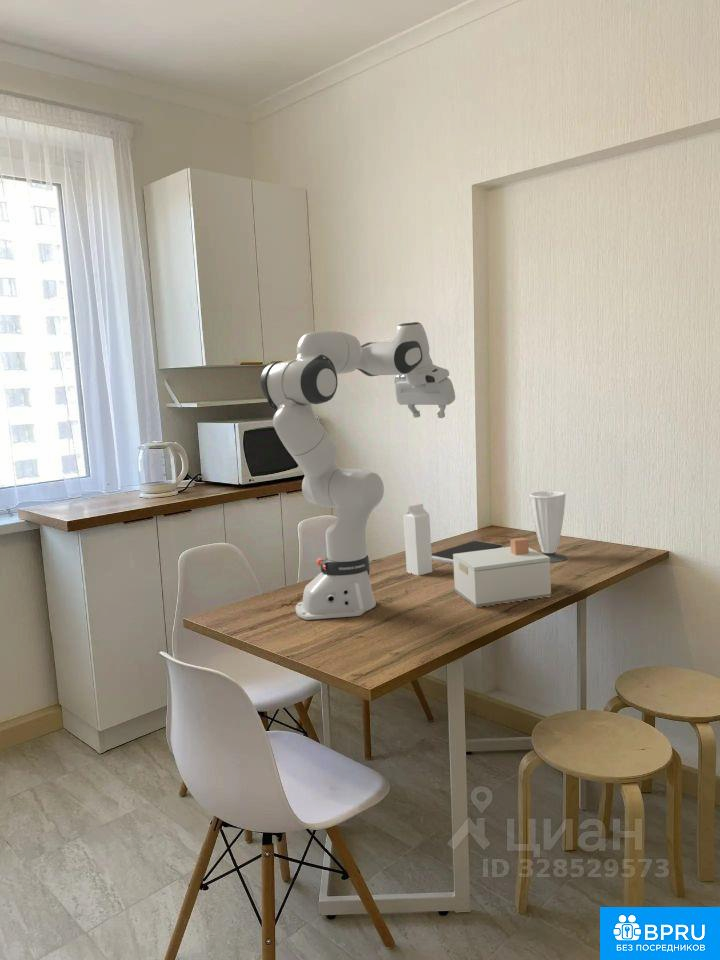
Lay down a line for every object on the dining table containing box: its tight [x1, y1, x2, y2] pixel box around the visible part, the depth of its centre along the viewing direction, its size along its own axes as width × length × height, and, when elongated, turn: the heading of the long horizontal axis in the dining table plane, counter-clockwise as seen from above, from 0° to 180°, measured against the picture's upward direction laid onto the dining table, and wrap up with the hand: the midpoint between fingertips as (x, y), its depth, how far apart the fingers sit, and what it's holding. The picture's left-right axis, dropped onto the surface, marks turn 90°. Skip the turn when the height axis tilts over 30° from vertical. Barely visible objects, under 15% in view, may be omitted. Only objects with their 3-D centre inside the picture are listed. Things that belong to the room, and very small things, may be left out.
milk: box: [402, 503, 433, 577], centre depth 228 cm, size 6×6×22 cm
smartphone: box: [432, 540, 504, 565], centre depth 249 cm, size 13×27×2 cm, turn 132°
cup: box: [529, 490, 568, 564], centre depth 234 cm, size 12×12×22 cm
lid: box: [453, 537, 550, 571], centre depth 199 cm, size 22×16×5 cm
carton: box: [452, 558, 552, 608], centre depth 200 cm, size 22×16×10 cm
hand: (429, 417), depth 221 cm, fingers open, 8 cm apart
